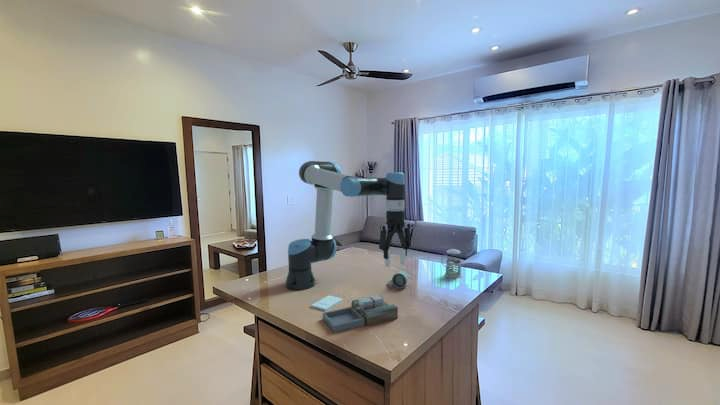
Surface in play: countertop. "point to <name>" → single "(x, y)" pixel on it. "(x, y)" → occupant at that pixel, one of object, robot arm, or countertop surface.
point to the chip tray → (343, 319)
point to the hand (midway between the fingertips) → (395, 265)
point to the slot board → (378, 318)
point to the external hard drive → (327, 303)
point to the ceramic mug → (399, 279)
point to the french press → (456, 262)
